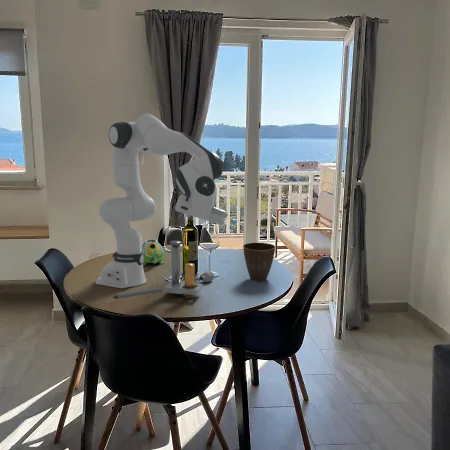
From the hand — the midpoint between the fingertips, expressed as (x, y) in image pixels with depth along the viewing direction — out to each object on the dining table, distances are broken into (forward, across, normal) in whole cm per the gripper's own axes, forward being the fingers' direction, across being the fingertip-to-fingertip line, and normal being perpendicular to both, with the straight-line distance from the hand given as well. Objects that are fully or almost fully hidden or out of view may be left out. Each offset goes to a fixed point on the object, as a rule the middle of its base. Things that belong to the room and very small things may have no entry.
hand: (199, 219), depth 177 cm
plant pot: (+34, -33, +6) cm, 48 cm away
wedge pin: (+17, -6, +28) cm, 33 cm away
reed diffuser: (+29, -7, +19) cm, 36 cm away
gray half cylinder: (+23, +15, +32) cm, 42 cm away
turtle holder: (+61, +20, +6) cm, 65 cm away
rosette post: (+19, -3, +27) cm, 33 cm away
